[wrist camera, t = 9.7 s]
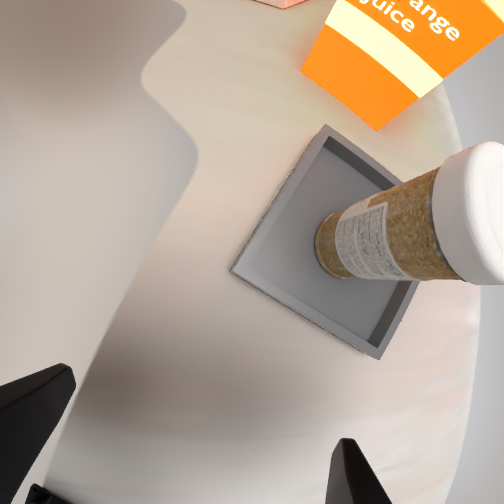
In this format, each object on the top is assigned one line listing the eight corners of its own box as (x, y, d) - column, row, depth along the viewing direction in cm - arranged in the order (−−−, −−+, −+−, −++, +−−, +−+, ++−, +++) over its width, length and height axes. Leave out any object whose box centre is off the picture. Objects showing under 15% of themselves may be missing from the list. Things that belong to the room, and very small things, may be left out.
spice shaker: (370, 211, 21) (532, 149, 7) (376, 278, 20) (549, 277, 7) (308, 211, 20) (457, 124, 7) (313, 283, 20) (480, 294, 7)
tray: (363, 353, 21) (379, 360, 18) (229, 271, 20) (232, 270, 18) (426, 224, 22) (444, 220, 20) (314, 136, 21) (325, 123, 19)
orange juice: (298, 71, 21) (422, -145, 2) (347, 25, 23) (452, -127, 3) (378, 134, 22) (579, -16, 2) (414, 77, 23) (555, -42, 4)
